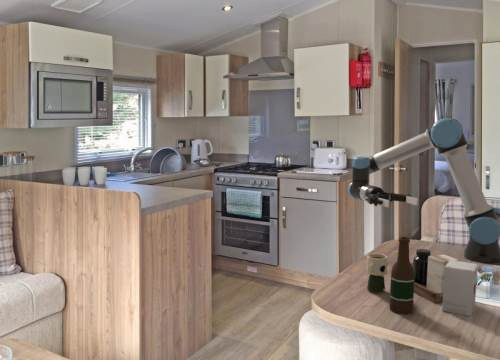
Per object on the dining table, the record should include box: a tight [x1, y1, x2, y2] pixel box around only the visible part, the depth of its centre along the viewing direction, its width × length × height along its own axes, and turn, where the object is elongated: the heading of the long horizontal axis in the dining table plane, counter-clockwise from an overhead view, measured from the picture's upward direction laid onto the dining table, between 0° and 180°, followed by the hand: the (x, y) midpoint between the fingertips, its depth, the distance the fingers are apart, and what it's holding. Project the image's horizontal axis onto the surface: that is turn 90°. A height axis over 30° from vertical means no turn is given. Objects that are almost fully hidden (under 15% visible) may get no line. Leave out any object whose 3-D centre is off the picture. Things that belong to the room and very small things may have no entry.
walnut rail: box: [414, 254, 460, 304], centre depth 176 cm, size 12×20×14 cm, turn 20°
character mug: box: [366, 252, 389, 294], centre depth 175 cm, size 11×7×13 cm, turn 142°
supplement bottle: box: [412, 248, 431, 285], centre depth 179 cm, size 7×7×12 cm
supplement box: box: [441, 260, 479, 317], centre depth 159 cm, size 9×9×15 cm
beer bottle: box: [389, 236, 415, 315], centre depth 158 cm, size 8×8×24 cm
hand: (403, 203), depth 194 cm, fingers open, 13 cm apart
